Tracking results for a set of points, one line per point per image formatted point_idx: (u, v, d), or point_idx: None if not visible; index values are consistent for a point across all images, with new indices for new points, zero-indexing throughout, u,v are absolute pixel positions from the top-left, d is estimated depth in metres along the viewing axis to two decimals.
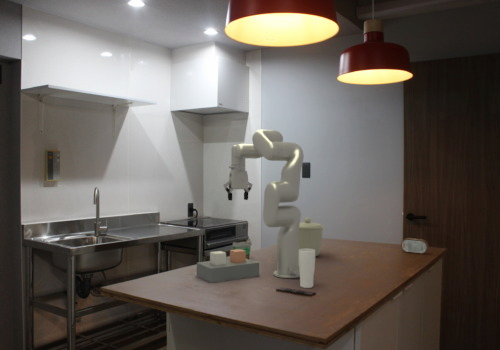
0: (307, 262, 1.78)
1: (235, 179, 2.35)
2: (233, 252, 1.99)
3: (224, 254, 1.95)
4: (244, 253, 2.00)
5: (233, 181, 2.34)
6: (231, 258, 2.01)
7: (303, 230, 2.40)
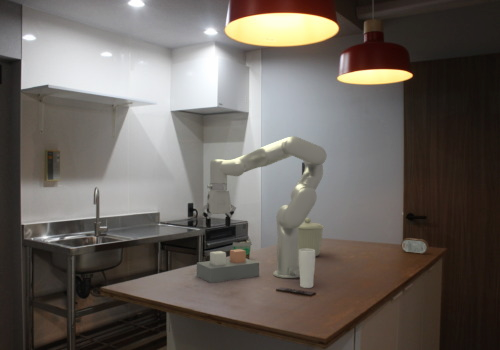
0: (307, 262, 1.78)
1: (214, 201, 1.92)
2: (233, 252, 1.99)
3: (224, 254, 1.95)
4: (244, 253, 2.00)
5: (211, 204, 1.92)
6: (231, 258, 2.01)
7: (303, 230, 2.40)
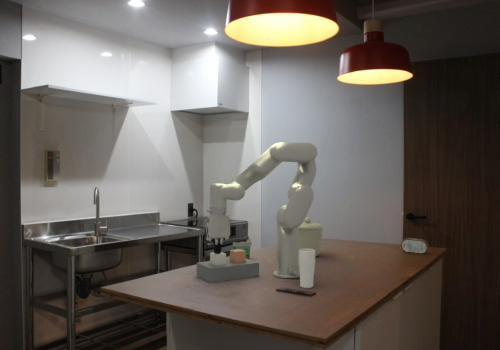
0: (307, 262, 1.78)
1: (214, 226, 1.92)
2: (233, 252, 1.99)
3: (224, 255, 1.95)
4: (244, 253, 2.00)
5: (211, 228, 1.91)
6: (231, 258, 2.01)
7: (303, 230, 2.40)
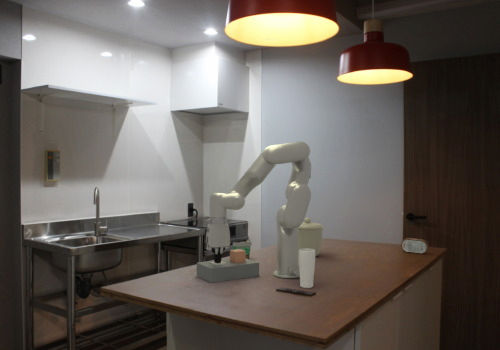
0: (307, 262, 1.78)
1: (214, 236, 1.92)
2: (233, 252, 1.99)
3: (224, 264, 1.95)
4: (244, 253, 2.00)
5: (211, 238, 1.91)
6: (231, 258, 2.01)
7: (303, 230, 2.40)
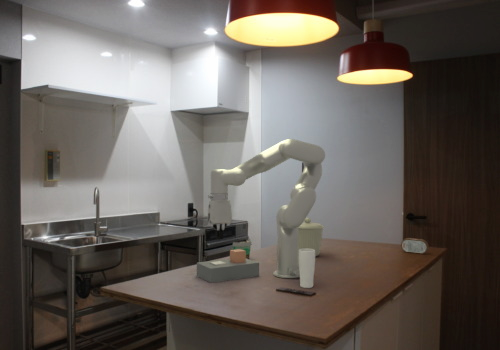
0: (307, 262, 1.78)
1: (215, 211, 1.92)
2: (233, 252, 1.99)
3: (224, 264, 1.95)
4: (244, 253, 2.00)
5: (213, 214, 1.92)
6: (231, 258, 2.01)
7: (303, 230, 2.40)
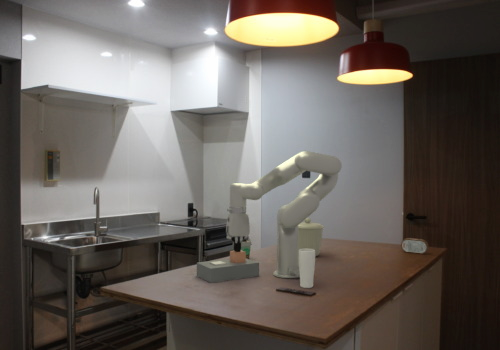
0: (307, 262, 1.78)
1: (234, 225, 1.97)
2: (233, 253, 1.99)
3: (224, 264, 1.95)
4: (244, 254, 2.00)
5: (231, 227, 1.97)
6: (231, 259, 2.01)
7: (303, 230, 2.40)
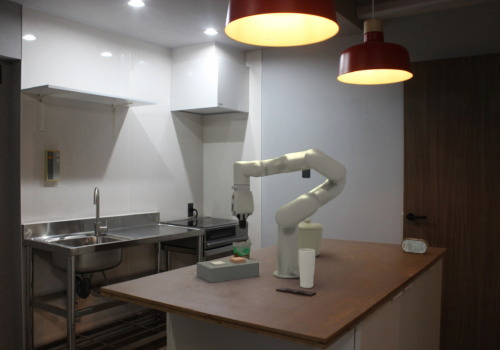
0: (307, 262, 1.78)
1: (239, 202, 2.00)
2: (233, 260, 1.99)
3: (224, 264, 1.95)
4: (244, 261, 2.00)
5: (237, 204, 2.00)
6: None
7: (303, 230, 2.40)
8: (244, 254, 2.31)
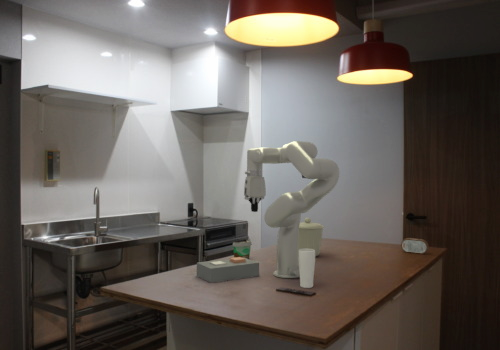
0: (307, 262, 1.78)
1: (251, 186, 2.13)
2: (233, 260, 1.99)
3: (224, 264, 1.95)
4: (244, 261, 2.00)
5: (249, 188, 2.13)
6: None
7: (303, 230, 2.40)
8: (244, 254, 2.31)
